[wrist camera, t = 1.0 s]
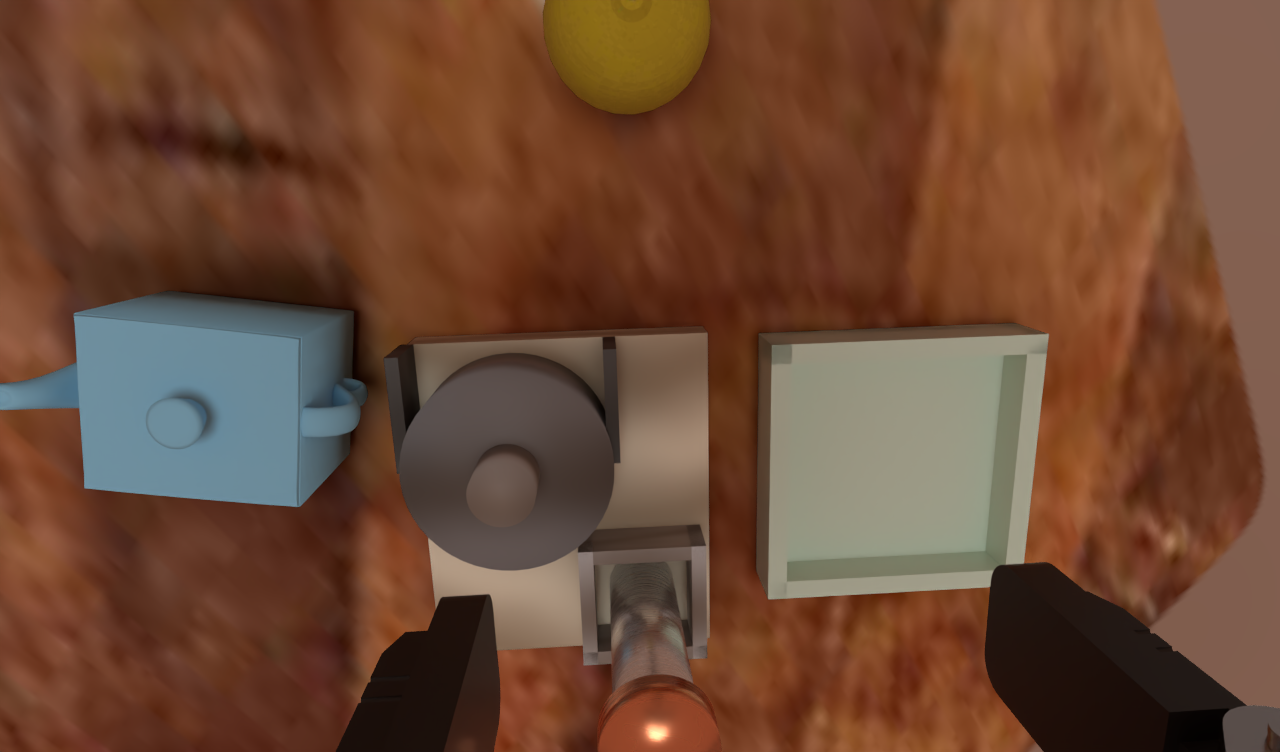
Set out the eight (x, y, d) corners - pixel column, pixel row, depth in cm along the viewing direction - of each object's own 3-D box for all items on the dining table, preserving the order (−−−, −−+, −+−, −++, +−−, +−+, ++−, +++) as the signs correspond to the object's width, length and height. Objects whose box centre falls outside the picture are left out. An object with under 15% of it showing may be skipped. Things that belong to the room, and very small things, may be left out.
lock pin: (596, 544, 32) (595, 703, 22) (683, 540, 32) (721, 695, 22) (599, 622, 33) (600, 808, 23) (685, 617, 33) (722, 800, 23)
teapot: (101, 421, 31) (-51, 493, 24) (93, 277, 30) (-70, 307, 22) (392, 448, 32) (332, 525, 25) (398, 311, 31) (336, 349, 23)
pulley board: (409, 337, 31) (361, 375, 25) (702, 326, 31) (728, 360, 25) (442, 634, 34) (406, 734, 28) (705, 619, 35) (728, 714, 29)
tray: (758, 333, 32) (772, 345, 29) (1015, 323, 32) (1048, 334, 30) (756, 570, 34) (768, 599, 32) (991, 557, 35) (1021, 585, 32)
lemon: (723, 56, 29) (768, 8, 21) (616, 153, 30) (622, 141, 22) (629, -66, 28) (641, -164, 20) (520, 39, 28) (491, -17, 21)
